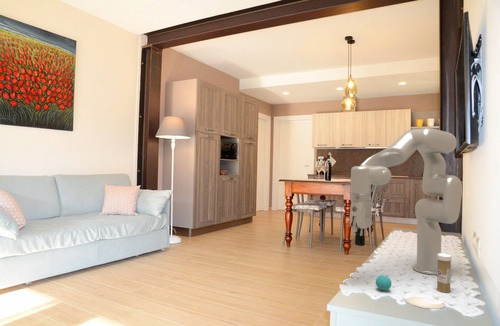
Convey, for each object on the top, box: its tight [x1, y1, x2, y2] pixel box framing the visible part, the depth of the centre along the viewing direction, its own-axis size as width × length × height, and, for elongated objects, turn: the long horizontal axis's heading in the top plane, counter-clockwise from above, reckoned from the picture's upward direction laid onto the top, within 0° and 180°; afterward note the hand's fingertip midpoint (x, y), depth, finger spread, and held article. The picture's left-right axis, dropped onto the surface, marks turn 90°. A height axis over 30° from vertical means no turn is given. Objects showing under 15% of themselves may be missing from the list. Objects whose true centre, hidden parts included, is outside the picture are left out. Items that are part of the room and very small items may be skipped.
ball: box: [375, 274, 392, 292], centre depth 131 cm, size 6×6×6 cm
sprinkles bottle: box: [436, 252, 452, 293], centre depth 131 cm, size 5×5×13 cm
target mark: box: [403, 296, 446, 310], centre depth 121 cm, size 13×13×1 cm
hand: (359, 245), depth 137 cm, fingers closed
